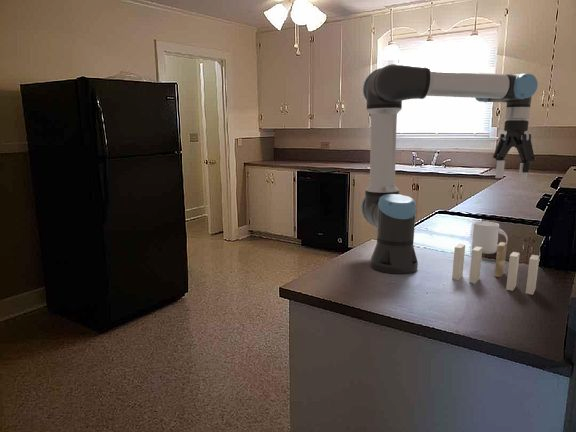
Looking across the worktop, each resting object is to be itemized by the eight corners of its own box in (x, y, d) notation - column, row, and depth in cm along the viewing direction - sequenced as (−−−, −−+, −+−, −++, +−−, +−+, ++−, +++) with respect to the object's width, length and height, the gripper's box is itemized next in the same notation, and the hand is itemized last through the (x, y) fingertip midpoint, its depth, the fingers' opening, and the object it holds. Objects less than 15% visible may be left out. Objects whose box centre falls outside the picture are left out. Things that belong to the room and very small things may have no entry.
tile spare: (494, 276, 135) (497, 245, 133) (497, 272, 139) (500, 241, 137) (500, 277, 134) (504, 246, 132) (503, 273, 138) (507, 242, 136)
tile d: (525, 293, 121) (529, 258, 119) (528, 288, 125) (532, 254, 123) (532, 294, 120) (537, 259, 118) (535, 289, 124) (539, 255, 122)
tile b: (469, 282, 130) (472, 249, 128) (473, 277, 134) (476, 246, 132) (475, 283, 129) (478, 250, 127) (479, 279, 132) (482, 247, 131)
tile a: (452, 278, 132) (454, 247, 130) (456, 274, 136) (459, 243, 134) (458, 280, 131) (460, 248, 129) (462, 275, 135) (465, 244, 133)
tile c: (506, 289, 124) (509, 255, 122) (509, 284, 128) (512, 251, 126) (513, 290, 123) (516, 256, 121) (516, 285, 127) (519, 252, 125)
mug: (503, 257, 156) (506, 228, 154) (468, 251, 163) (471, 223, 161) (508, 252, 162) (511, 224, 160) (475, 247, 170) (477, 220, 168)
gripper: (551, 119, 142) (543, 183, 146) (505, 121, 166) (499, 176, 170) (530, 118, 141) (523, 183, 145) (486, 120, 165) (481, 176, 169)
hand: (510, 179), depth 158 cm, fingers open, 13 cm apart
